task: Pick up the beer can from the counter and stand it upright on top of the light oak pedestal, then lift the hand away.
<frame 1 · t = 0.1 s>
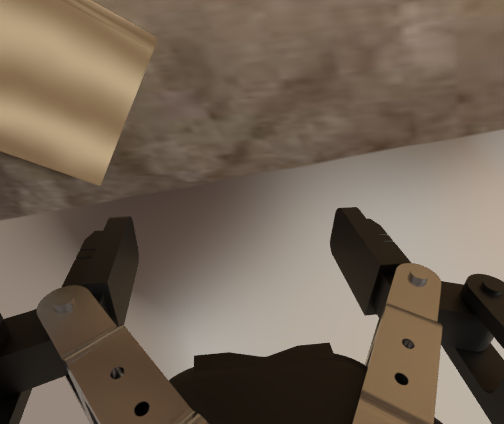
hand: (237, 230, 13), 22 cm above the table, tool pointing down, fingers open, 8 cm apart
oak pedestal: (50, 70, 29), on the table
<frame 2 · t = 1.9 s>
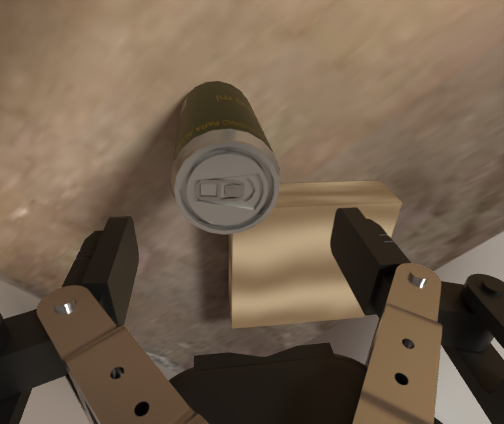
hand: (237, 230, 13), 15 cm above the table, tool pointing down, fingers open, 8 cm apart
beer can: (216, 115, 26), on the table
oak pedestal: (298, 244, 34), on the table
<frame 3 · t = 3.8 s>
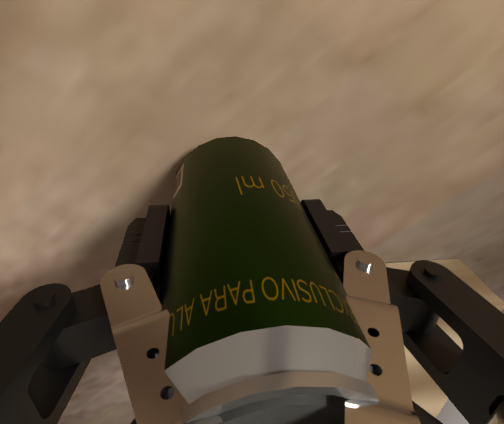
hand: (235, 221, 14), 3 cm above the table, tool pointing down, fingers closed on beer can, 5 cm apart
beer can: (229, 181, 17), on the table, touching gripper
oak pedestal: (338, 337, 25), on the table
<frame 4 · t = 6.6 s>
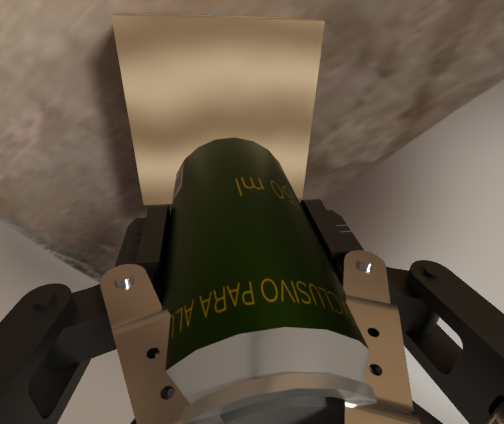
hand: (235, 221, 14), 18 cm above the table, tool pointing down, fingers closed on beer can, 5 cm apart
beer can: (229, 182, 17), point 14 cm above the table, touching gripper
oak pedestal: (221, 109, 29), on the table
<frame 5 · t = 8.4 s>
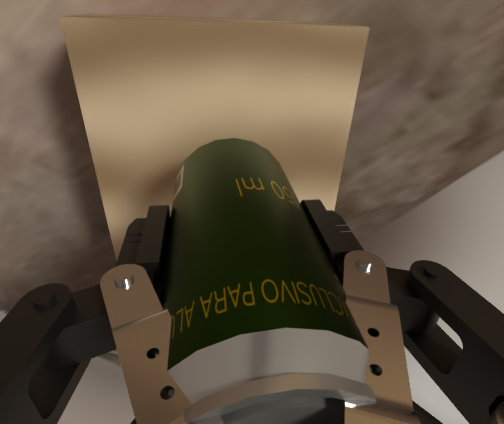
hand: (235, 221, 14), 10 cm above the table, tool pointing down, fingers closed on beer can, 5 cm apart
beer can: (229, 182, 17), point 6 cm above the table, touching gripper
oak pedestal: (221, 140, 22), on the table
when the fingers open (9 cm above the table, at t = 9.6 s): beer can drops 1 cm, resting on oak pedestal.
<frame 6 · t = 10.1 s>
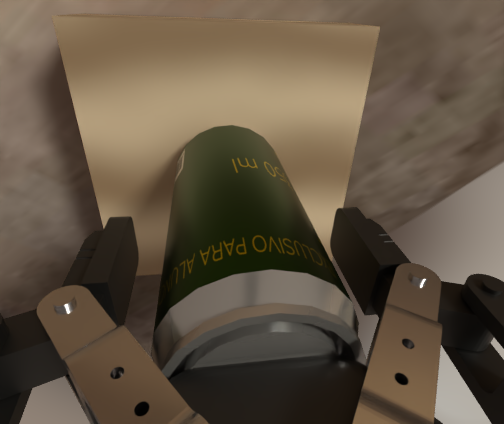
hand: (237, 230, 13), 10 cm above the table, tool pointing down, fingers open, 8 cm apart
beer can: (227, 168, 18), point 4 cm above the table, touching oak pedestal
oak pedestal: (223, 145, 21), on the table
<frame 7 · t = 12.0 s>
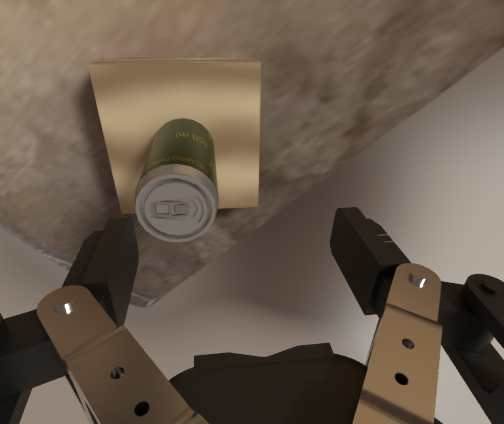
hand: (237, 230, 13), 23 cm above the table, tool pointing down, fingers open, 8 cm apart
beer can: (185, 144, 31), point 4 cm above the table, touching oak pedestal
oak pedestal: (186, 132, 34), on the table
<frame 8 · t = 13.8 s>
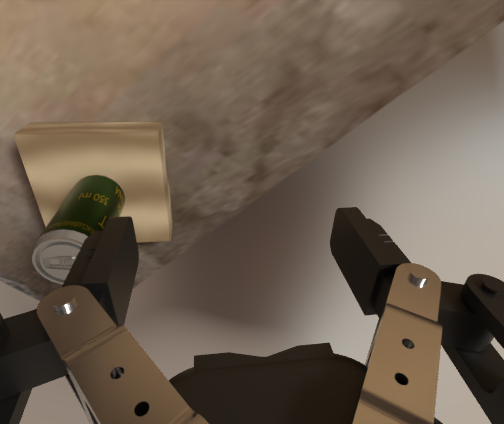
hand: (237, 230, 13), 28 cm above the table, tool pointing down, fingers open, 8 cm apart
beer can: (101, 192, 38), point 4 cm above the table, touching oak pedestal
oak pedestal: (109, 178, 41), on the table
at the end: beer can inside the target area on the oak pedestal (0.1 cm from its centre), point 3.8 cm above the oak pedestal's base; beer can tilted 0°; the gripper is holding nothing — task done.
